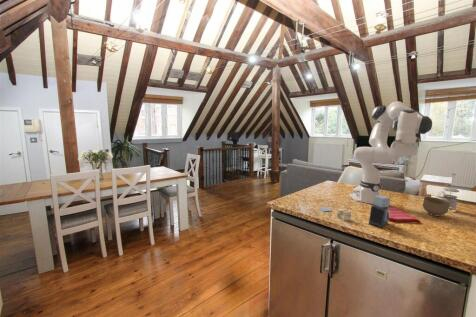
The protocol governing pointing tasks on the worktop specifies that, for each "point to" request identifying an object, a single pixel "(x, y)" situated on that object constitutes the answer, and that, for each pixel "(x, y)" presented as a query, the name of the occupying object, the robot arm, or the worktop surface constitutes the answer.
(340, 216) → the maple block
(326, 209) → the tile
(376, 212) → the small box
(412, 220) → the dish towel
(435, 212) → the bowl
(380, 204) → the grey cube
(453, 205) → the french press
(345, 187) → the worktop surface
